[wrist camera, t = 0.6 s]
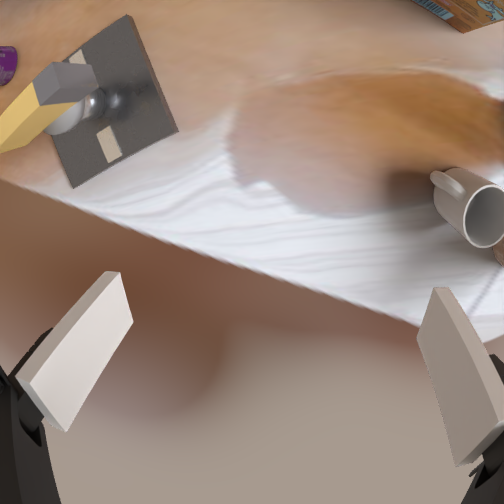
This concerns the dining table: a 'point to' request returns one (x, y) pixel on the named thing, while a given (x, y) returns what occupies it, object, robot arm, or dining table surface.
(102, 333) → the robot arm
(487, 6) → the milk carton
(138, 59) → the post base
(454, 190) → the grey cup
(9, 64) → the beverage can
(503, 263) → the planter
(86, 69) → the handle
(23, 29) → the dining table surface
